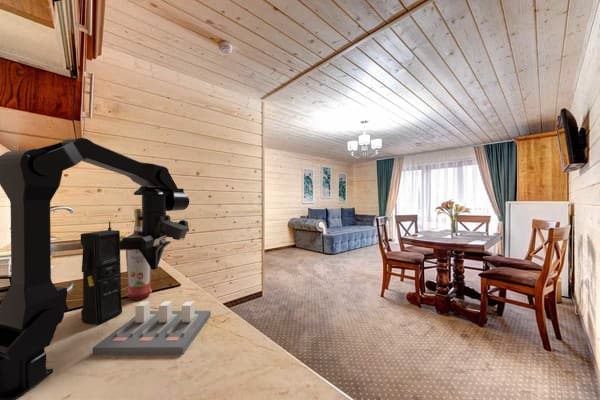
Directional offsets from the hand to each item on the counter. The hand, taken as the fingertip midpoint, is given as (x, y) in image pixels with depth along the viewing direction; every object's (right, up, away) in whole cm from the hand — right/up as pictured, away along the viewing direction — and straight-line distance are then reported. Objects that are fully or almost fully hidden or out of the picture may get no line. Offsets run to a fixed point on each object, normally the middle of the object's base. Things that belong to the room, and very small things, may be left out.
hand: (154, 269), depth 67 cm
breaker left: (+2, -10, -7) cm, 13 cm away
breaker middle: (+7, -10, -7) cm, 14 cm away
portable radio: (-12, -12, -3) cm, 17 cm away
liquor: (-11, -12, +11) cm, 20 cm away
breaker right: (+13, -10, -7) cm, 18 cm away
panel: (+7, -12, -10) cm, 17 cm away
